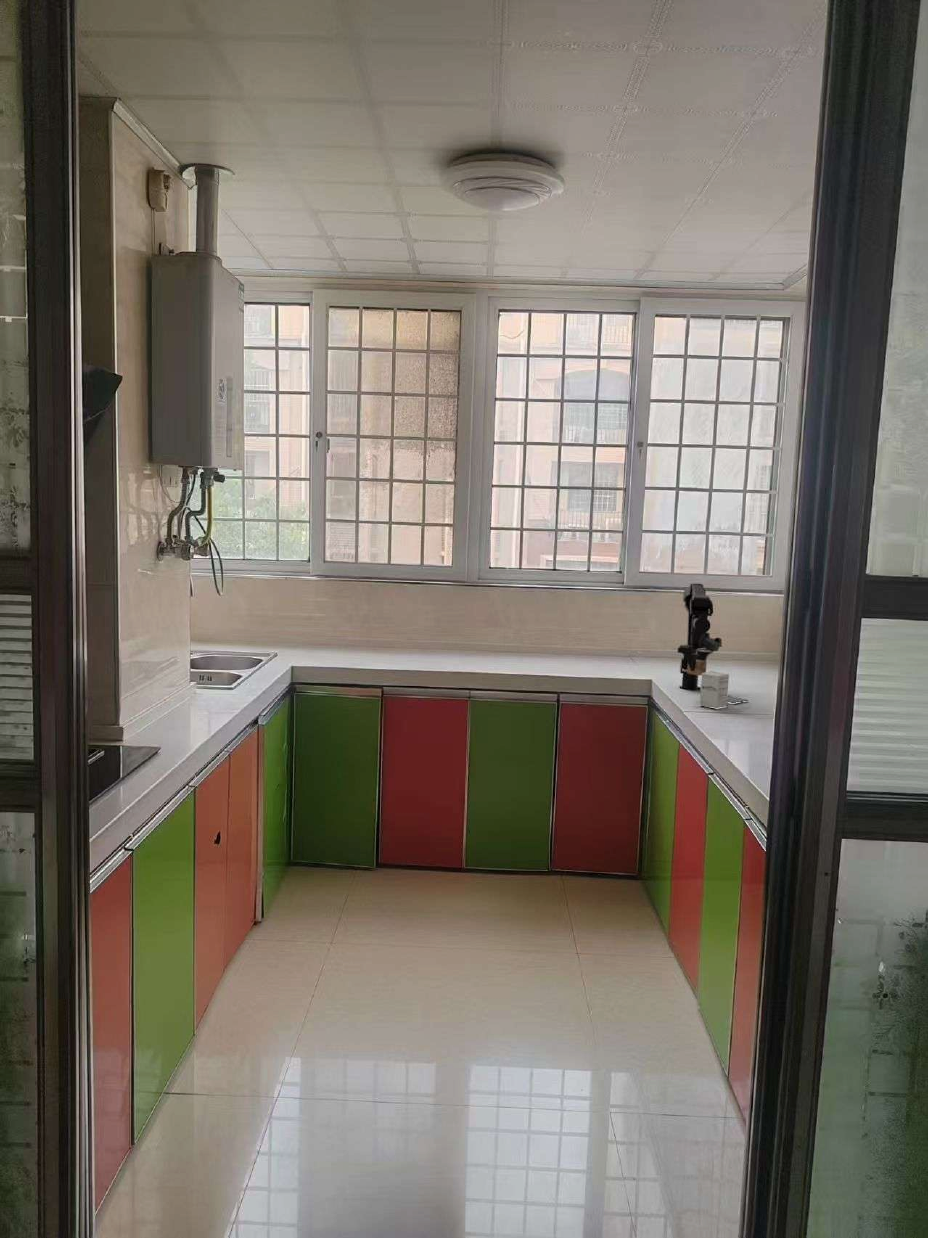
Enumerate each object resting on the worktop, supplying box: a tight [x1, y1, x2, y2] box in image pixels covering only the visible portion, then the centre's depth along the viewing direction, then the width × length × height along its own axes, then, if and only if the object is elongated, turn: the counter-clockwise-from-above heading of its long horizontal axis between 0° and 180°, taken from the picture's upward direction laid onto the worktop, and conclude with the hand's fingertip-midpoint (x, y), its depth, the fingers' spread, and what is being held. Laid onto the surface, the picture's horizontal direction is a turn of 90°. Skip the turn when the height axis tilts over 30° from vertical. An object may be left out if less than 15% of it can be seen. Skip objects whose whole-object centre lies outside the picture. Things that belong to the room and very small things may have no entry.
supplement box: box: [699, 670, 730, 708], centre depth 354 cm, size 7×7×13 cm
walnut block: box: [687, 660, 707, 676], centre depth 368 cm, size 5×5×5 cm
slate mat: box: [727, 695, 749, 703], centre depth 366 cm, size 10×9×1 cm
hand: (696, 670), depth 368 cm, fingers closed on walnut block, 5 cm apart
